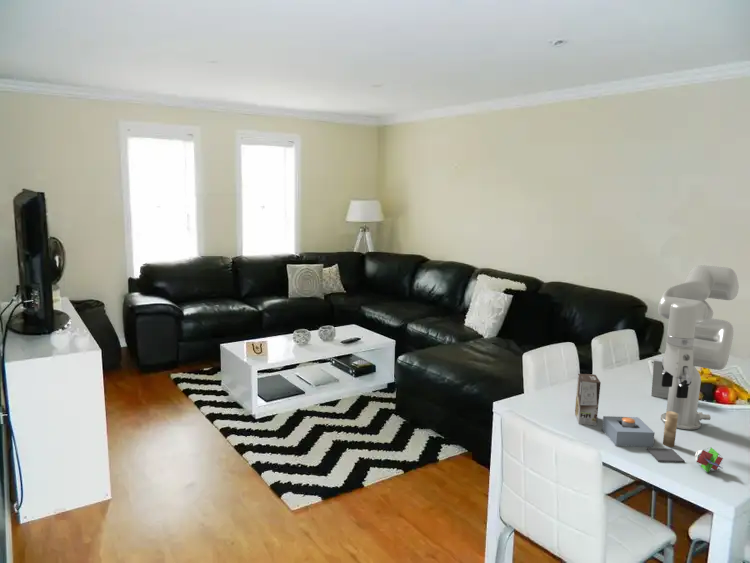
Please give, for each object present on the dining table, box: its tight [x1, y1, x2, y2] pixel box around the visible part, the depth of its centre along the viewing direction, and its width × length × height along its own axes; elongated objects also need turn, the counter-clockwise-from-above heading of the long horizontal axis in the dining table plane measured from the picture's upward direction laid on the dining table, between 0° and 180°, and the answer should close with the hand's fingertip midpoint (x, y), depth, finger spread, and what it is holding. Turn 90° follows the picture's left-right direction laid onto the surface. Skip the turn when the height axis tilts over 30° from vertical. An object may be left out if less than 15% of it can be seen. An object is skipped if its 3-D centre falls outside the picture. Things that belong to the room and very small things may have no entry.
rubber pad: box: [645, 447, 686, 464], centre depth 172 cm, size 8×8×1 cm
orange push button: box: [621, 416, 635, 428], centre depth 183 cm, size 4×4×4 cm
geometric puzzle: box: [694, 447, 724, 474], centre depth 164 cm, size 7×7×8 cm
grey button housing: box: [601, 415, 655, 448], centre depth 184 cm, size 12×12×5 cm
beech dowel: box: [662, 410, 678, 448], centre depth 179 cm, size 3×3×11 cm
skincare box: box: [650, 355, 669, 400], centre depth 221 cm, size 8×7×16 cm
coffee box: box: [574, 373, 601, 427], centre depth 197 cm, size 9×6×16 cm
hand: (673, 392), depth 177 cm, fingers open, 9 cm apart
